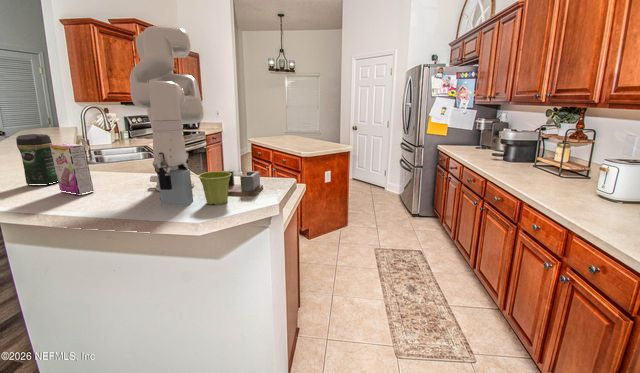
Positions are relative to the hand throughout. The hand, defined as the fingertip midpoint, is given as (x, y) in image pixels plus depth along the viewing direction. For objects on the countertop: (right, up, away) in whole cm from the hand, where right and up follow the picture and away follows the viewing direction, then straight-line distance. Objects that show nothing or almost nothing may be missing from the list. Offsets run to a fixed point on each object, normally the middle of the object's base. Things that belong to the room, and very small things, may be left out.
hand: (175, 185), depth 96 cm
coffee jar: (-60, 0, +25) cm, 65 cm away
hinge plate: (+15, -2, +14) cm, 21 cm away
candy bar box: (-39, -3, +14) cm, 42 cm away
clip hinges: (+15, -1, +14) cm, 20 cm away
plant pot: (+12, -5, +3) cm, 13 cm away
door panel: (0, -5, +2) cm, 6 cm away
